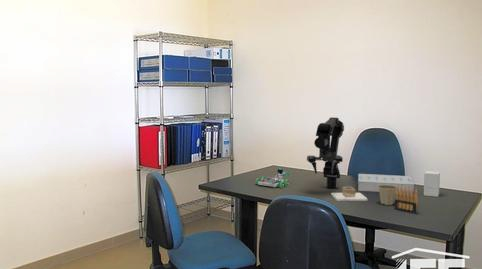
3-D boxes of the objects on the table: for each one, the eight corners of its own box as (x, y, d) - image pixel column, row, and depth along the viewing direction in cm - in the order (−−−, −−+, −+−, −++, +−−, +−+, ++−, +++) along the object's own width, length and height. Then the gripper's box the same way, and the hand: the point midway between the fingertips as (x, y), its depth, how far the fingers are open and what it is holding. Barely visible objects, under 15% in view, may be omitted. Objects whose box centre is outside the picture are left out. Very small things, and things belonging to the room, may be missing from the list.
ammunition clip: (417, 213, 194) (419, 188, 193) (416, 214, 193) (417, 188, 192) (395, 208, 202) (396, 184, 200) (394, 209, 200) (395, 185, 199)
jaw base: (331, 194, 230) (331, 187, 229) (360, 194, 230) (360, 187, 230) (336, 200, 217) (336, 193, 216) (367, 200, 217) (367, 193, 217)
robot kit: (298, 182, 262) (298, 168, 261) (279, 190, 241) (279, 174, 241) (272, 179, 272) (272, 165, 272) (252, 186, 252) (252, 171, 251)
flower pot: (373, 202, 214) (373, 185, 213) (388, 200, 217) (388, 184, 216) (385, 206, 205) (386, 189, 204) (400, 205, 208) (401, 188, 207)
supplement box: (439, 194, 231) (440, 171, 229) (438, 197, 224) (439, 174, 223) (424, 192, 234) (425, 170, 233) (423, 195, 228) (424, 172, 227)
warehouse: (357, 191, 240) (358, 178, 239) (357, 185, 253) (358, 173, 253) (414, 194, 232) (414, 181, 231) (410, 188, 245) (411, 176, 245)
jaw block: (342, 194, 227) (342, 186, 226) (351, 194, 227) (351, 186, 226) (345, 197, 220) (345, 189, 219) (355, 197, 220) (355, 189, 219)
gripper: (310, 148, 221) (310, 177, 223) (345, 148, 222) (344, 176, 224) (306, 145, 232) (306, 173, 234) (340, 145, 233) (339, 172, 235)
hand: (324, 174), depth 231 cm, fingers open, 9 cm apart
